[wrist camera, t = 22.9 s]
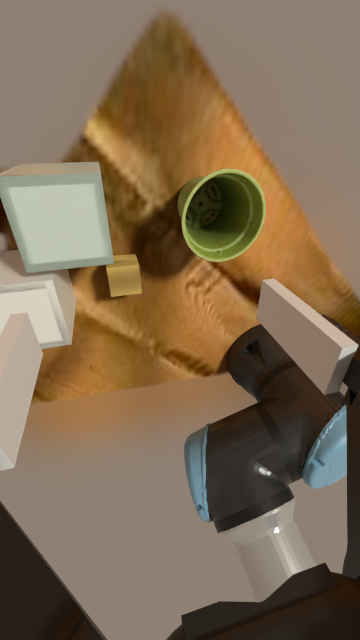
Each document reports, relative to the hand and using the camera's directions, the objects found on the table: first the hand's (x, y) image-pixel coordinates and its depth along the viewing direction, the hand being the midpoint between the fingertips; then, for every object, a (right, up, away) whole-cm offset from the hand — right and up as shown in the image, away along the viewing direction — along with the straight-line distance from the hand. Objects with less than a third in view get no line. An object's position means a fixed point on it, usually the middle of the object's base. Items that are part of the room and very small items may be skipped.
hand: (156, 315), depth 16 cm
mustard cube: (-7, +7, +23) cm, 25 cm away
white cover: (-17, +5, +20) cm, 27 cm away
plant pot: (+4, +15, +20) cm, 26 cm away
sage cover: (-11, +13, +16) cm, 24 cm away
